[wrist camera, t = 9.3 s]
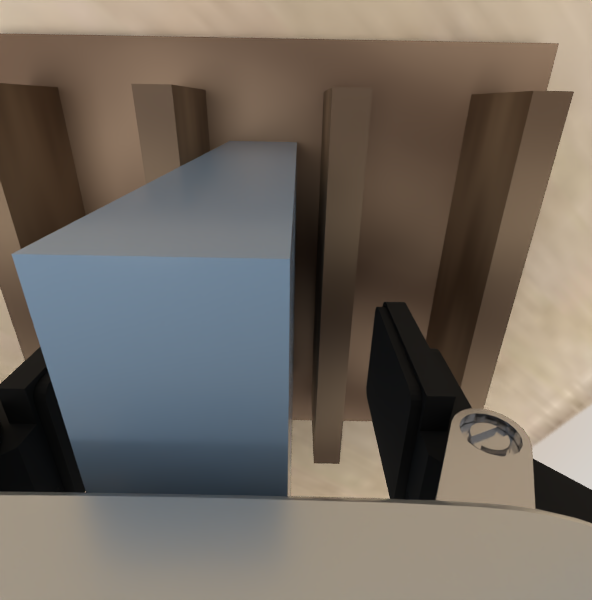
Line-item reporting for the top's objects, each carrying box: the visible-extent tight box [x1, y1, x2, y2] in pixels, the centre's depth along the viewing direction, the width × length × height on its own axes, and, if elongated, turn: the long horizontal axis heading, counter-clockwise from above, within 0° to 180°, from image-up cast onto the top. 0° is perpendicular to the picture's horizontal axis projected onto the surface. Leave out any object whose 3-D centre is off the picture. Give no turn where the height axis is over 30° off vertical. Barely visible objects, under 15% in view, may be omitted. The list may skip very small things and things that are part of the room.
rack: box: [0, 34, 574, 464], centre depth 15 cm, size 16×19×5 cm
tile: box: [12, 141, 297, 496], centre depth 11 cm, size 10×2×12 cm, turn 179°
